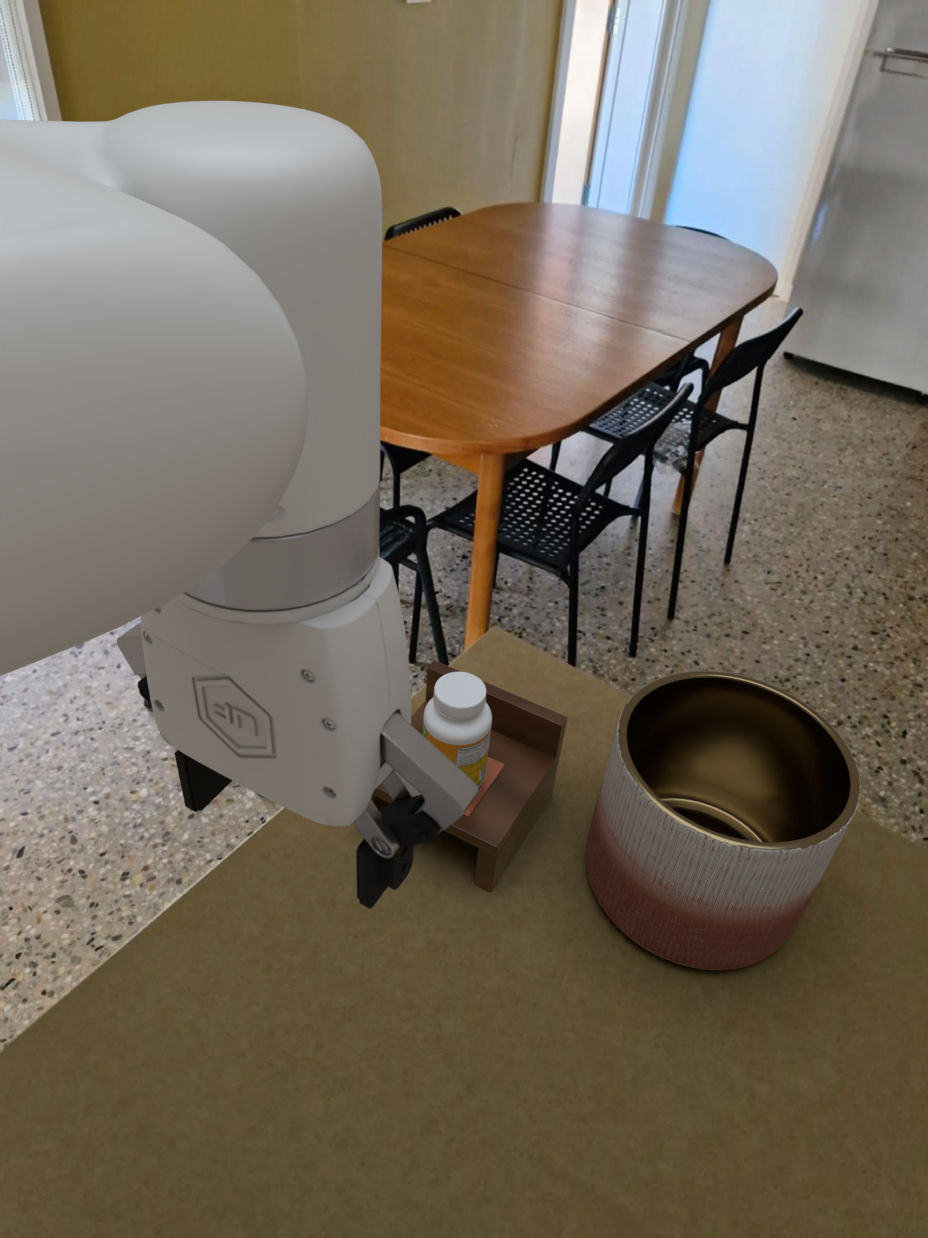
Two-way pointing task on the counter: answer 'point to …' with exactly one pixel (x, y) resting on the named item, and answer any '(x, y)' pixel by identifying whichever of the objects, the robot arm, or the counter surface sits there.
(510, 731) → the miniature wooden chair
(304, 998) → the counter surface
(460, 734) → the supplement bottle
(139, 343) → the robot arm
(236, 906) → the counter surface
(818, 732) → the planter
